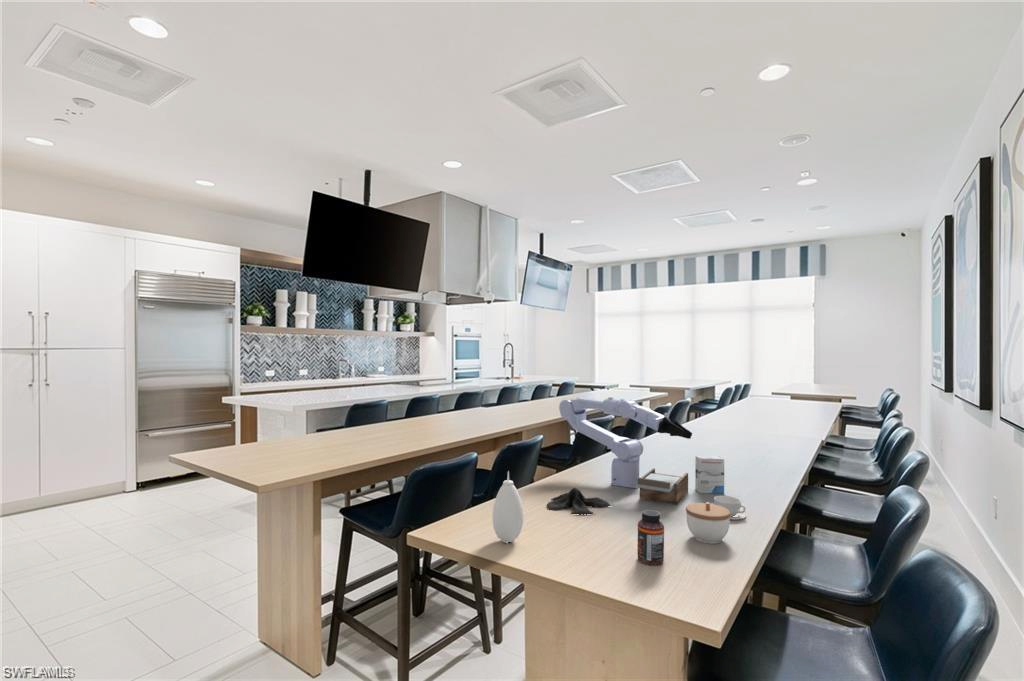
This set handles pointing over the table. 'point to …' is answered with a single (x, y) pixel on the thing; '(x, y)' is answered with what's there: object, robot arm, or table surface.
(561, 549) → the table surface
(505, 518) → the air blower bulb
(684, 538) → the table surface
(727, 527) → the lidded jar
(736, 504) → the teacup
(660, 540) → the supplement bottle
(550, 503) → the cloth
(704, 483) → the ink box
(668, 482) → the lid
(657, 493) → the walnut box
